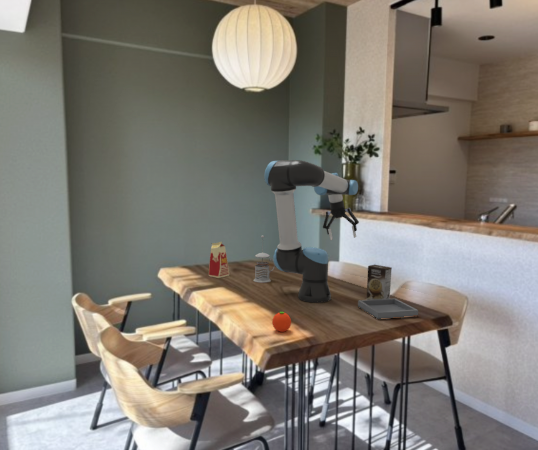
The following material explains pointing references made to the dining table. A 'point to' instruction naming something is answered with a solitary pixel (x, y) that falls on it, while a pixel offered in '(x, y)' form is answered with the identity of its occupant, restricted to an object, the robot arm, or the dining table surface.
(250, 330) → the dining table surface
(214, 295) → the dining table surface
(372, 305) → the tray
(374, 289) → the coffee box
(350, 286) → the dining table surface
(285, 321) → the clementine
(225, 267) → the milk carton
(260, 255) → the french press
